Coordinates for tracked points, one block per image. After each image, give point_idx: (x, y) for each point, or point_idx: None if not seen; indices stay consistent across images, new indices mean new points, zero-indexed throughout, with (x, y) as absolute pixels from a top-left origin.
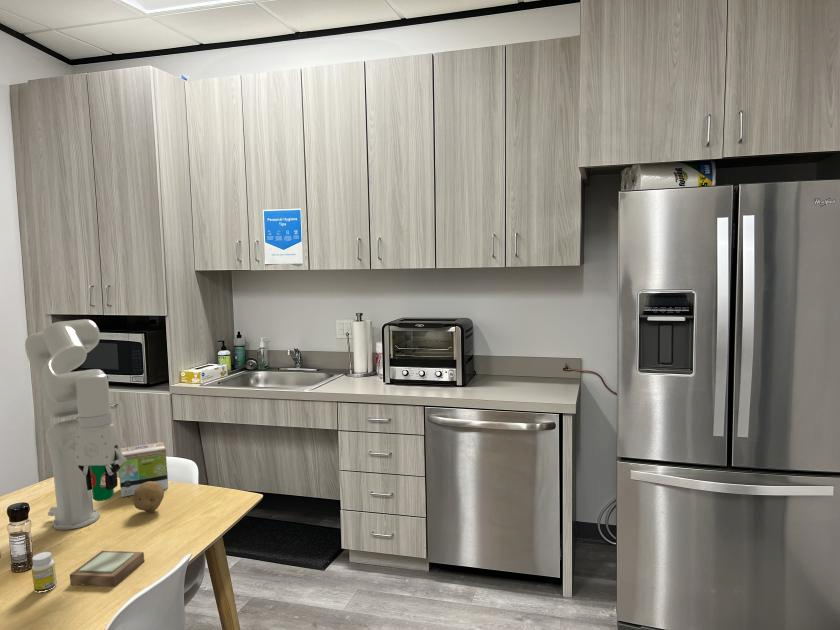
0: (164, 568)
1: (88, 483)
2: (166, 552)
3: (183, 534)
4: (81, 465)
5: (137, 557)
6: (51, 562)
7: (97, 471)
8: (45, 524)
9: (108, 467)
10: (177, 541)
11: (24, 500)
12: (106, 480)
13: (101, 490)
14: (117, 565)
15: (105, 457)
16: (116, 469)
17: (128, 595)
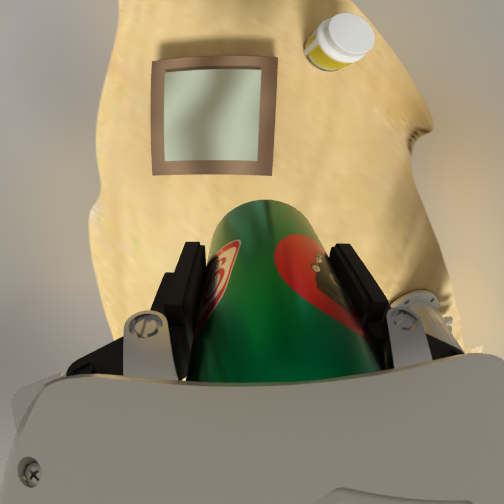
0: (100, 150)
1: (352, 265)
2: (137, 213)
3: (156, 286)
4: (461, 354)
5: (152, 150)
6: (322, 38)
7: (253, 322)
8: (447, 303)
9: (140, 372)
10: (147, 259)
11: (475, 350)
12: (205, 287)
13: (236, 227)
14: (169, 99)
15: (51, 472)
16: (93, 354)
17: (113, 47)
